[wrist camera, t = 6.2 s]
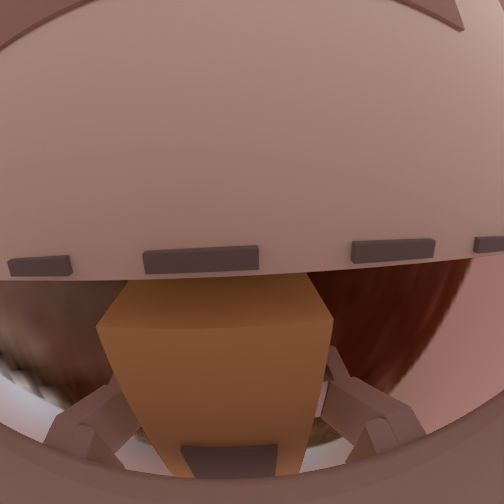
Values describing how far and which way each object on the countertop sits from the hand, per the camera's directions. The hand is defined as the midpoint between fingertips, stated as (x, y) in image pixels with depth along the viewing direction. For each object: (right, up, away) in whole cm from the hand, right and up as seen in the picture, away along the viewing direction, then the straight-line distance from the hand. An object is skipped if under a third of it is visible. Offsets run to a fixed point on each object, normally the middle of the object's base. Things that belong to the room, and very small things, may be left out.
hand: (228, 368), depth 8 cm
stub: (0, +1, +2) cm, 2 cm away
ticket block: (0, +9, -1) cm, 9 cm away
